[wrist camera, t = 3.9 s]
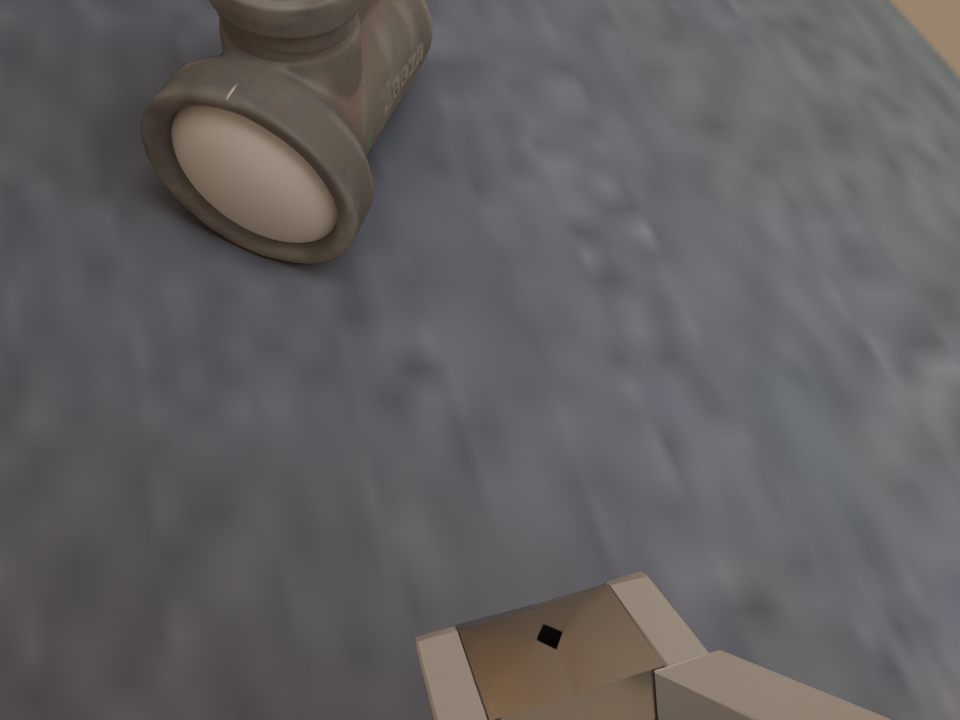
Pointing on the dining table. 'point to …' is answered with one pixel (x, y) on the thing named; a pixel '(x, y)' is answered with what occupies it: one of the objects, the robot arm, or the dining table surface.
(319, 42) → the vintage flashlight
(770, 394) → the dining table surface
